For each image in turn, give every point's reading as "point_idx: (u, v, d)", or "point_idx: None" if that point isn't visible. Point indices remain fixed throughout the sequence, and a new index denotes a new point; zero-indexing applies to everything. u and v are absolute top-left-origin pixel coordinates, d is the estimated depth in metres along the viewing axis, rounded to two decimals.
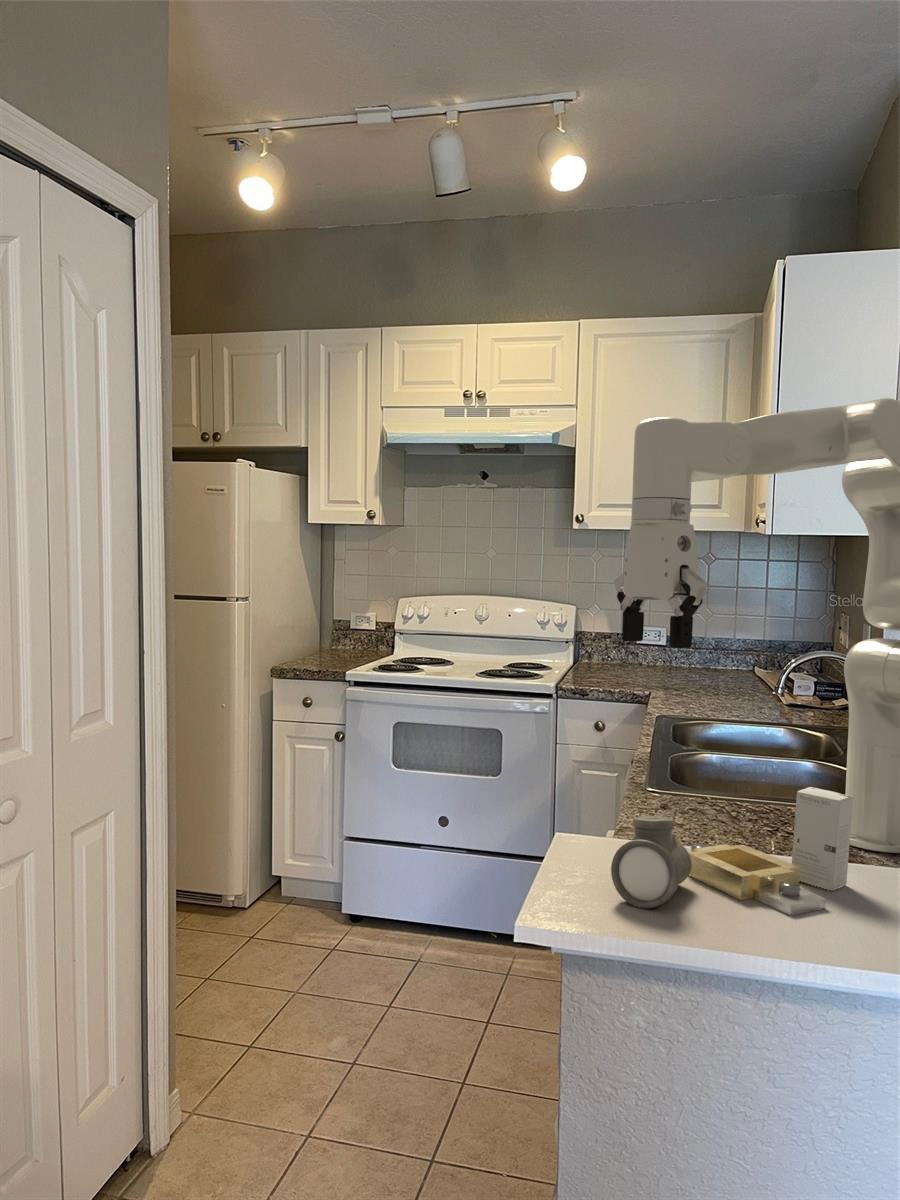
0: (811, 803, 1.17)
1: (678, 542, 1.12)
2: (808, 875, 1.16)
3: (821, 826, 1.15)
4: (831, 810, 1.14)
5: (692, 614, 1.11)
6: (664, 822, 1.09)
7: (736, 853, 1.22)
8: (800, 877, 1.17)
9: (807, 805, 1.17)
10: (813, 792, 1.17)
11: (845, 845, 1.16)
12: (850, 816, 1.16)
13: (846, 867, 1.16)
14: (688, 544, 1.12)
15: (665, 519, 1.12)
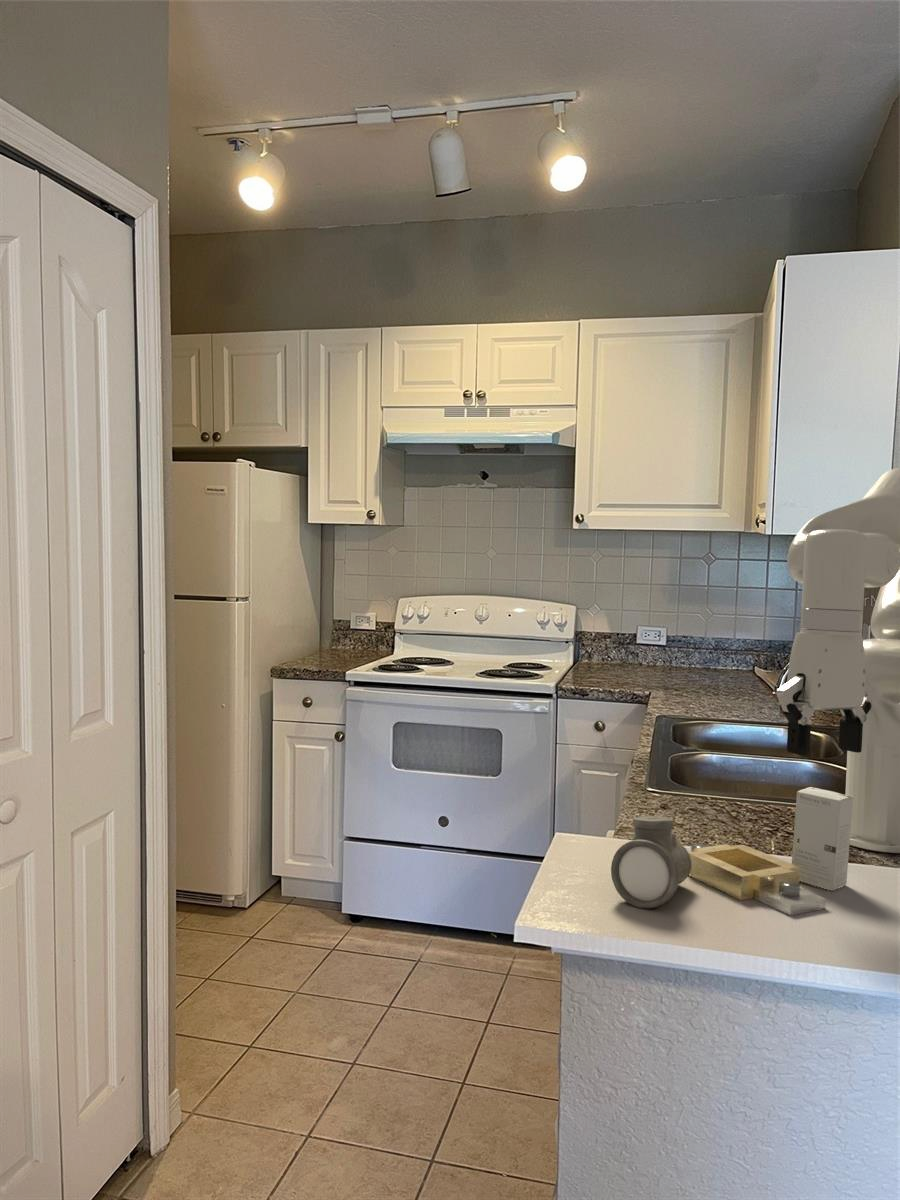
0: (811, 803, 1.17)
1: None
2: (808, 875, 1.16)
3: (821, 826, 1.15)
4: (831, 810, 1.14)
5: None
6: (664, 822, 1.09)
7: (736, 853, 1.22)
8: (800, 877, 1.17)
9: (807, 805, 1.17)
10: (813, 792, 1.17)
11: (845, 845, 1.16)
12: (850, 816, 1.16)
13: (846, 867, 1.16)
14: None
15: None
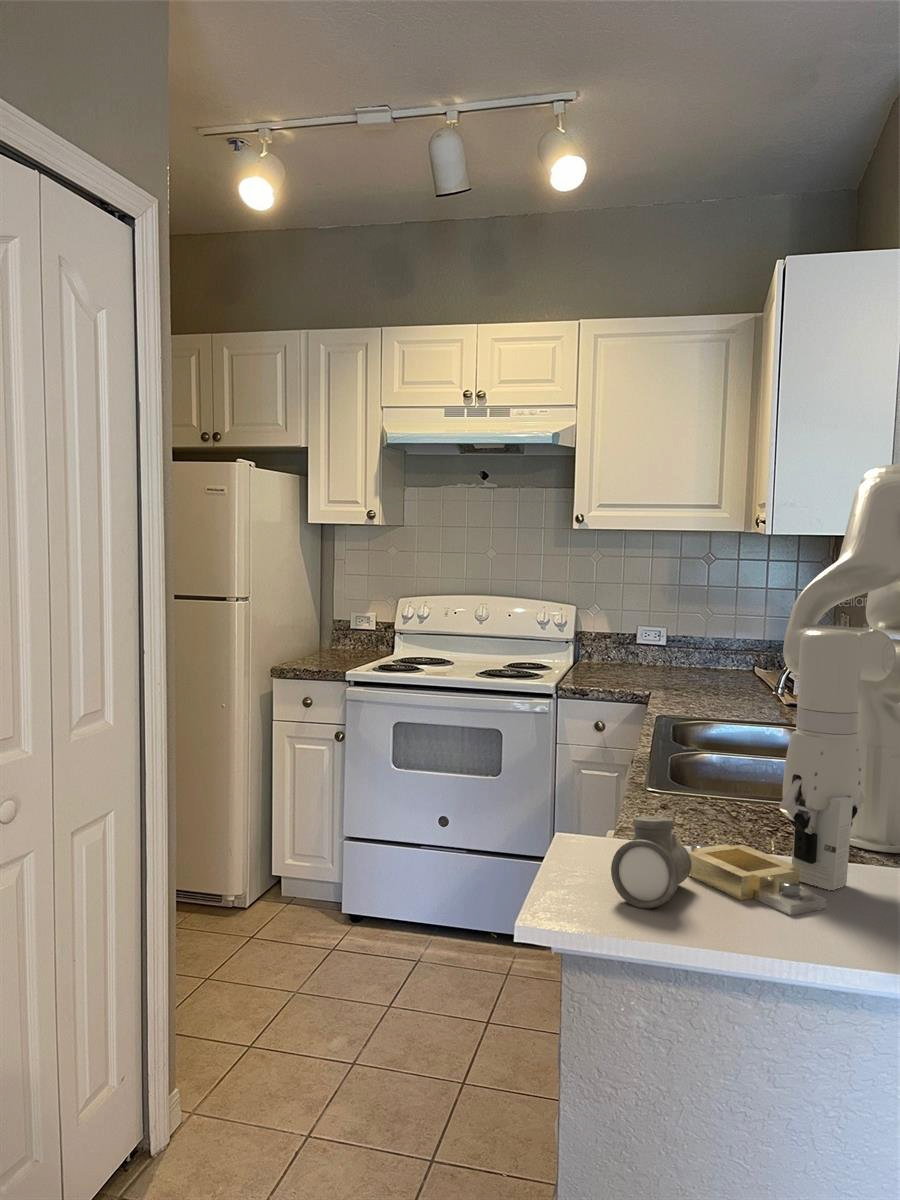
0: None
1: None
2: (808, 875, 1.16)
3: (822, 826, 1.15)
4: (832, 810, 1.14)
5: None
6: (664, 822, 1.09)
7: (736, 853, 1.22)
8: (800, 877, 1.17)
9: None
10: None
11: (845, 845, 1.16)
12: (850, 816, 1.16)
13: (846, 867, 1.16)
14: None
15: None
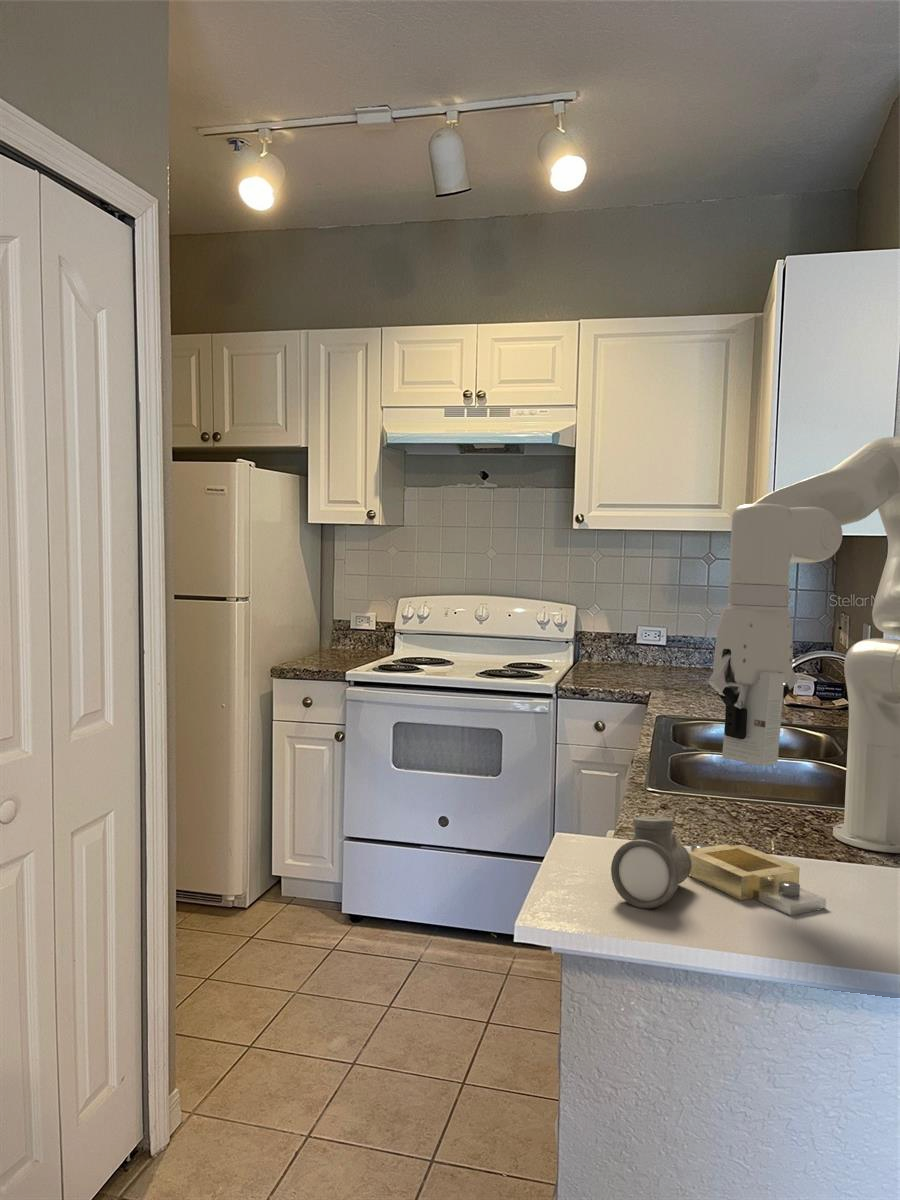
0: None
1: None
2: (739, 752, 1.15)
3: (752, 701, 1.14)
4: (761, 684, 1.13)
5: None
6: (664, 822, 1.09)
7: (736, 853, 1.22)
8: (731, 755, 1.16)
9: None
10: None
11: (776, 721, 1.14)
12: (781, 692, 1.15)
13: (777, 744, 1.15)
14: None
15: None
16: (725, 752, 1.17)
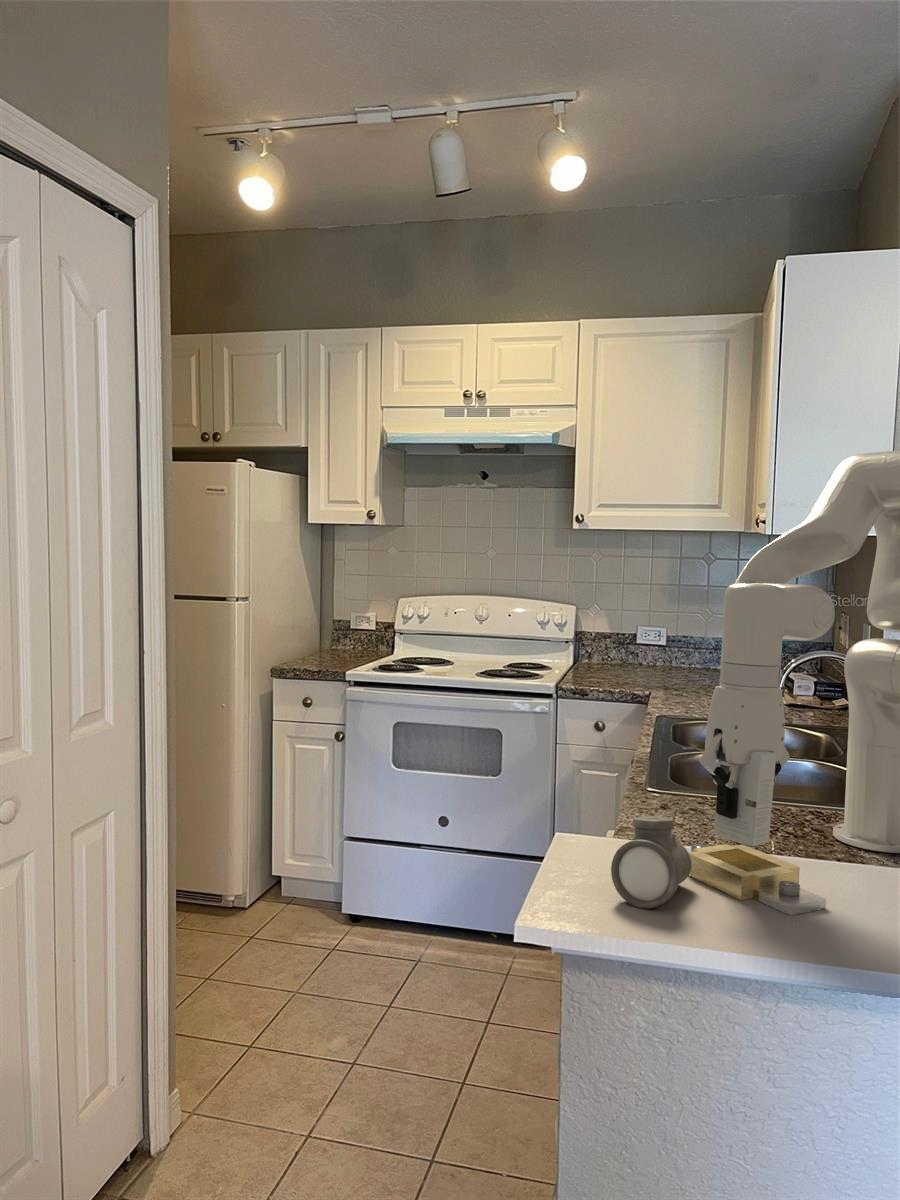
0: None
1: None
2: (730, 831, 1.15)
3: (743, 781, 1.14)
4: (753, 764, 1.13)
5: None
6: (664, 822, 1.09)
7: (736, 853, 1.22)
8: (722, 833, 1.16)
9: None
10: None
11: (767, 801, 1.14)
12: (773, 772, 1.15)
13: (768, 823, 1.15)
14: None
15: None
16: (716, 829, 1.17)
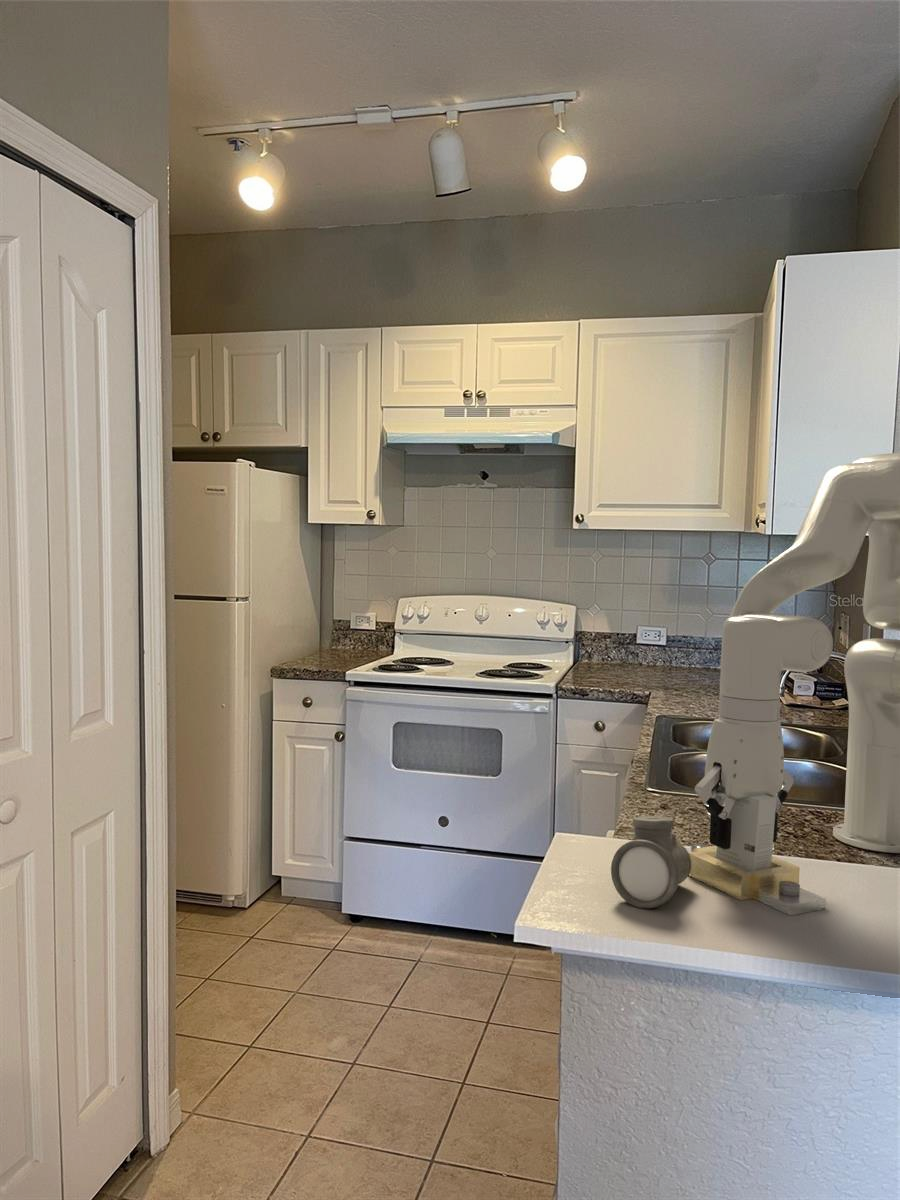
0: None
1: None
2: None
3: (742, 825, 1.15)
4: (751, 809, 1.14)
5: None
6: (664, 822, 1.09)
7: None
8: None
9: None
10: None
11: (767, 845, 1.15)
12: (773, 816, 1.15)
13: (769, 867, 1.15)
14: None
15: None
16: None
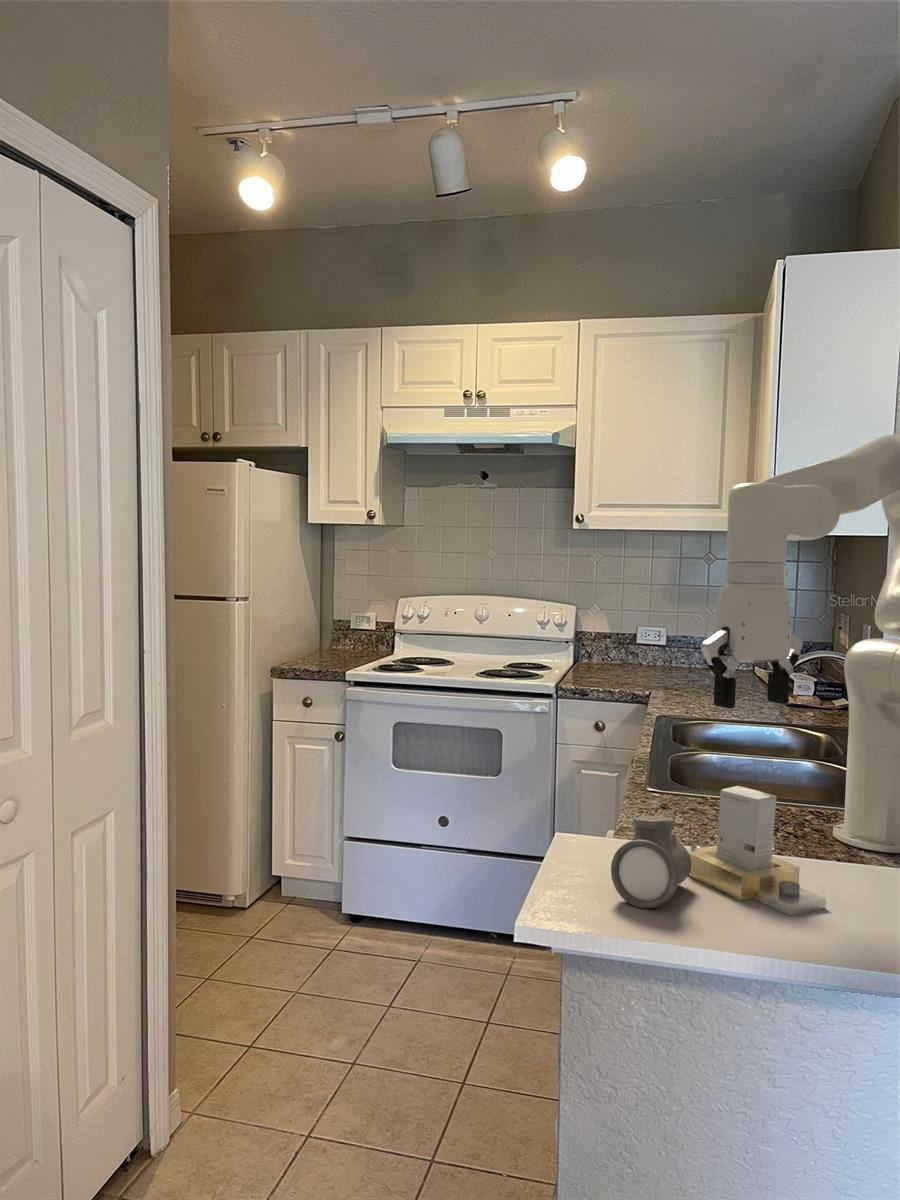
0: (733, 801, 1.16)
1: None
2: None
3: (742, 825, 1.15)
4: (751, 809, 1.14)
5: None
6: (664, 822, 1.09)
7: None
8: None
9: (730, 804, 1.16)
10: (736, 791, 1.17)
11: (767, 845, 1.15)
12: (773, 816, 1.15)
13: (769, 867, 1.15)
14: None
15: None
16: None
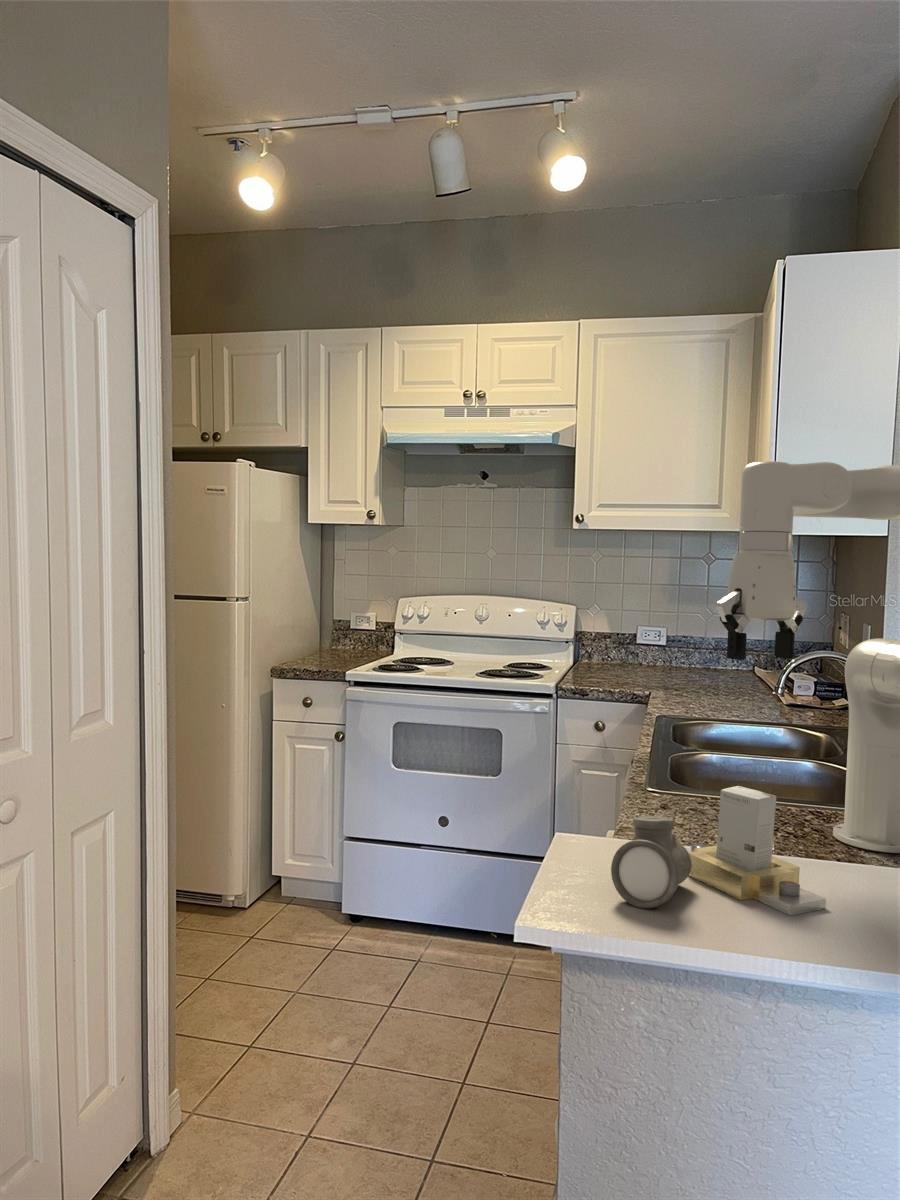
0: (733, 801, 1.16)
1: None
2: None
3: (742, 825, 1.15)
4: (751, 809, 1.14)
5: None
6: (664, 822, 1.09)
7: None
8: None
9: (730, 804, 1.16)
10: (736, 791, 1.17)
11: (767, 845, 1.15)
12: (773, 816, 1.15)
13: (769, 867, 1.15)
14: None
15: None
16: None
